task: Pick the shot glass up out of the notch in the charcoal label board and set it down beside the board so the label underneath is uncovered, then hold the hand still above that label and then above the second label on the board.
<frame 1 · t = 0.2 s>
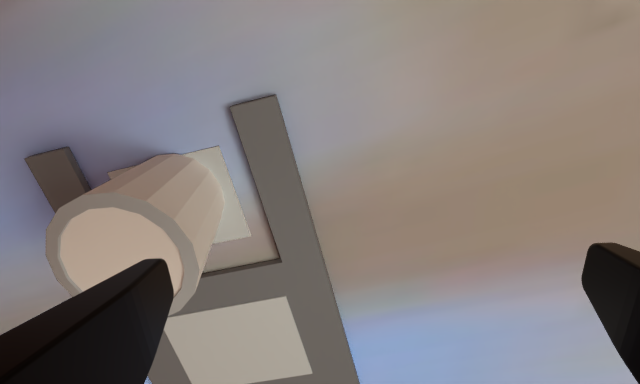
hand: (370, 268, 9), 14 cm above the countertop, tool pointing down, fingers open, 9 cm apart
shot glass: (179, 196, 24), on the countertop, touching label board
label board: (215, 284, 27), on the countertop
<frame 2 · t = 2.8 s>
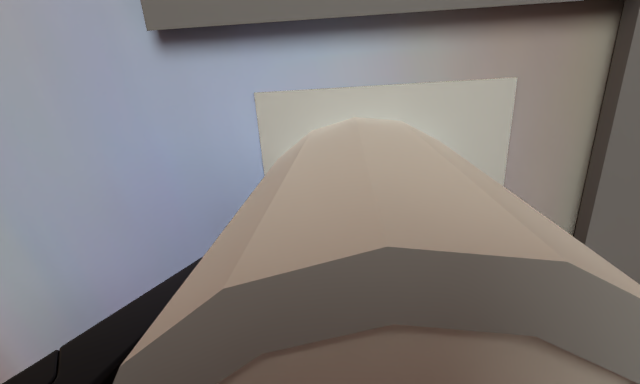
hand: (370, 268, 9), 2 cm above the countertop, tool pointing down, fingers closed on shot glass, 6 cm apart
shot glass: (363, 218, 11), on the countertop, touching gripper, label board
label board: (619, 211, 10), on the countertop
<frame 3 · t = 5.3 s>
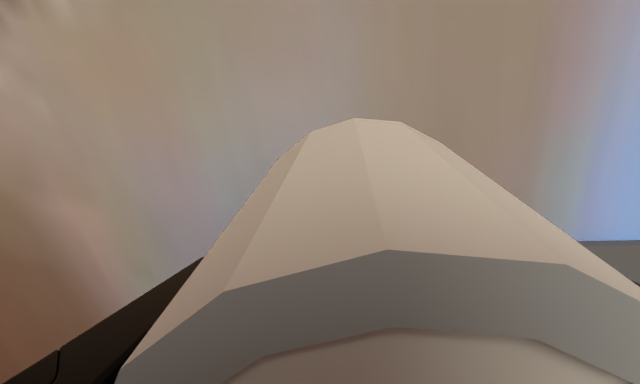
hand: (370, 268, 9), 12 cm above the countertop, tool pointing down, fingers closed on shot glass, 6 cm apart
shot glass: (363, 219, 11), point 10 cm above the countertop, touching gripper
label board: (467, 348, 25), on the countertop
when the fingers open (3 cm above the countertop, at t = 8.0 s): shot glass stays where it is, on the countertop.
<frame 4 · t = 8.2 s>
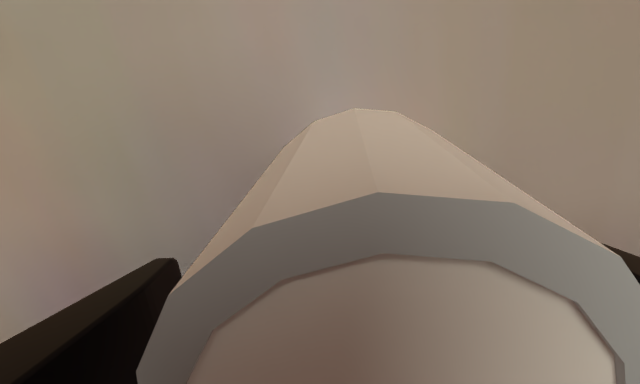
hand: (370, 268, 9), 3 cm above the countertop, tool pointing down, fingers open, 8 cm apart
shot glass: (362, 202, 12), on the countertop
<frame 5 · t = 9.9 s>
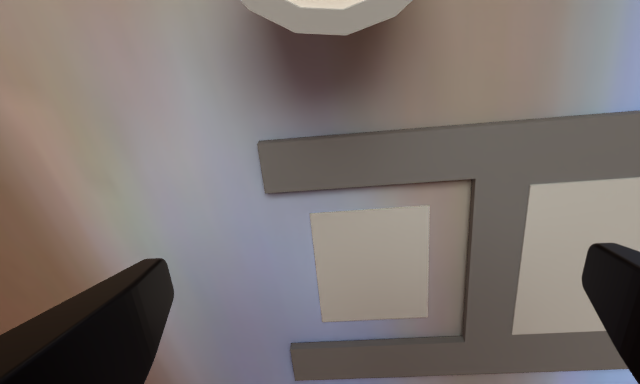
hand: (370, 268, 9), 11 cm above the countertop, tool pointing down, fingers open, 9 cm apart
label board: (486, 261, 21), on the countertop
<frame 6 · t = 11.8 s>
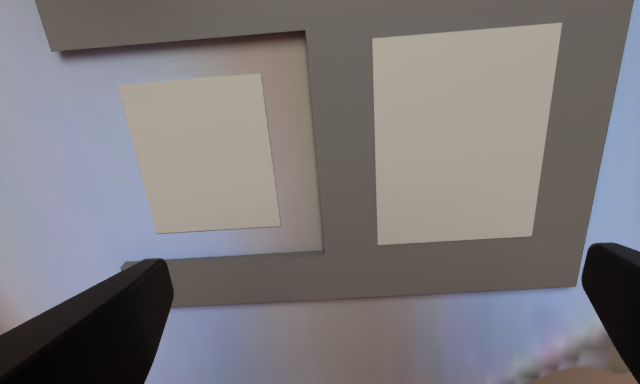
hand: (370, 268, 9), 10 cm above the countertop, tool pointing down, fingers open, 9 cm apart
label board: (339, 150, 18), on the countertop
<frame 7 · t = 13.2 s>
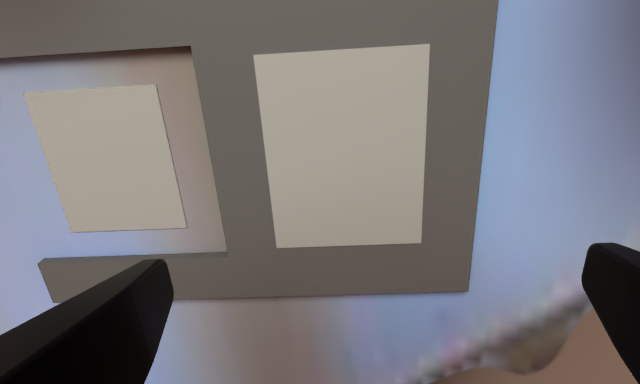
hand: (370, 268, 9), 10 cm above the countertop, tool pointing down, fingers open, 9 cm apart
label board: (236, 158, 19), on the countertop
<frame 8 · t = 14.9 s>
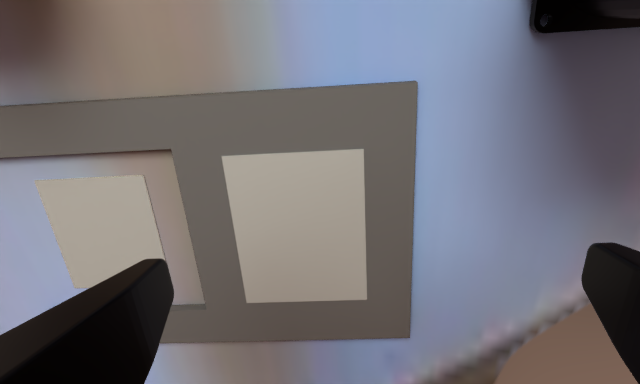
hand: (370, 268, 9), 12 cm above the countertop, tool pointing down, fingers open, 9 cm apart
label board: (211, 231, 22), on the countertop
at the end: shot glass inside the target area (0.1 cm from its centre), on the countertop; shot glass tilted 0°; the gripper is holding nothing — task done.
